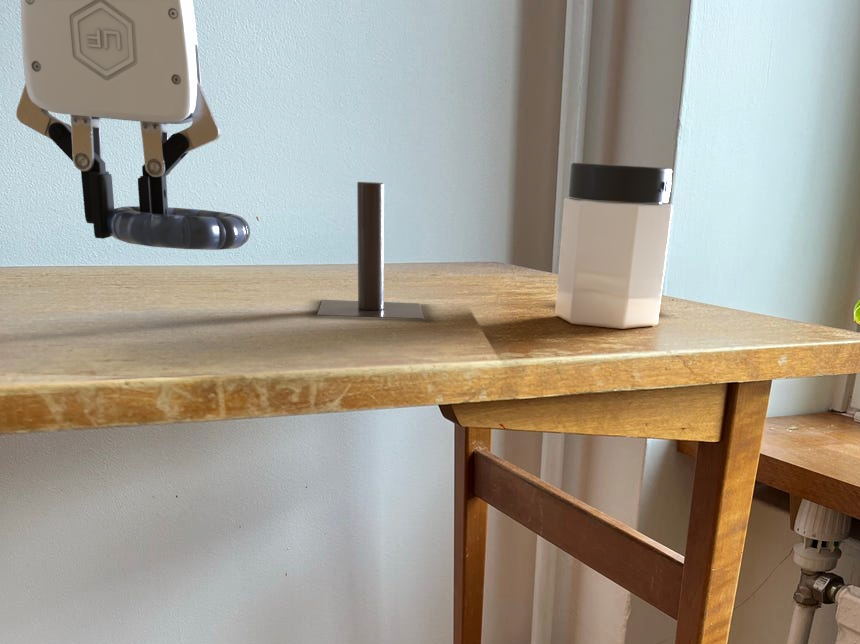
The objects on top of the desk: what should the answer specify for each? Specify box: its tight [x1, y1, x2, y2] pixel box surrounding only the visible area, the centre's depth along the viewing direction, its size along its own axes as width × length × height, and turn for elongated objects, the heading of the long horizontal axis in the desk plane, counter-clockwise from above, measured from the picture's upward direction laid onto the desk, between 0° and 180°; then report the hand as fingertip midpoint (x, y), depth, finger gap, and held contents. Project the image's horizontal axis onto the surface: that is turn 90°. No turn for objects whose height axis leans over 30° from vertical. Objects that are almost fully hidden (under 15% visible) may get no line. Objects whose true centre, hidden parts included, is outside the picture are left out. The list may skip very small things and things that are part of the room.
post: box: [316, 181, 425, 320], centre depth 75 cm, size 8×8×10 cm
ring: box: [106, 205, 251, 251], centre depth 67 cm, size 9×9×2 cm
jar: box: [554, 162, 673, 330], centre depth 81 cm, size 9×8×12 cm
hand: (128, 236), depth 66 cm, fingers closed on ring, 2 cm apart
